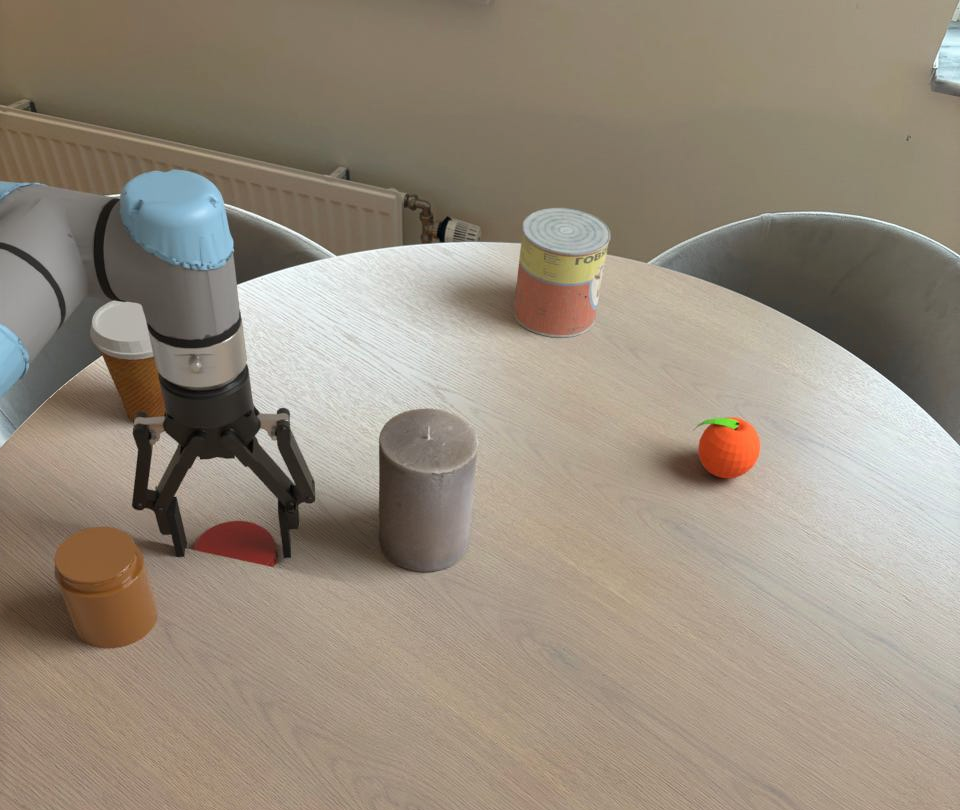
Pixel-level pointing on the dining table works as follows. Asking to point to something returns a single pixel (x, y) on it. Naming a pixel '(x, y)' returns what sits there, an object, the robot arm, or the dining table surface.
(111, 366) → the disposable coffee cup
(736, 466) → the clementine
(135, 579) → the jam jar
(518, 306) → the canned food
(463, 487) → the pillar candle
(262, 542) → the lid
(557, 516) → the dining table surface
